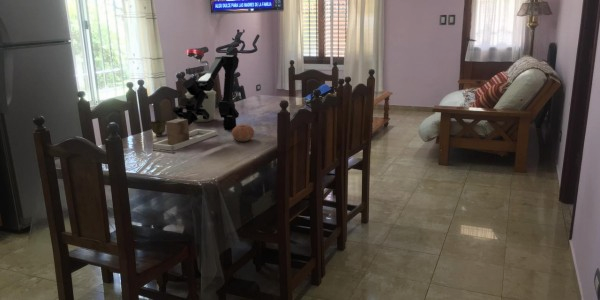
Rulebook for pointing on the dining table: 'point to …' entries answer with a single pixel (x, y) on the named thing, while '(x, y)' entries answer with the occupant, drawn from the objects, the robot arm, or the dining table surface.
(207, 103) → the canister
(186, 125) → the tan upright block
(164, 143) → the trap box
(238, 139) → the orange pumpkin
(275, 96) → the dining table surface
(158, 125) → the cup
